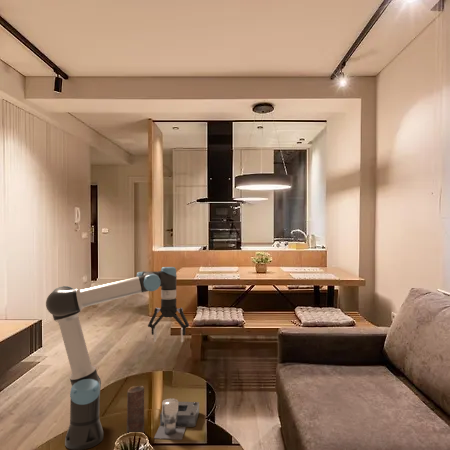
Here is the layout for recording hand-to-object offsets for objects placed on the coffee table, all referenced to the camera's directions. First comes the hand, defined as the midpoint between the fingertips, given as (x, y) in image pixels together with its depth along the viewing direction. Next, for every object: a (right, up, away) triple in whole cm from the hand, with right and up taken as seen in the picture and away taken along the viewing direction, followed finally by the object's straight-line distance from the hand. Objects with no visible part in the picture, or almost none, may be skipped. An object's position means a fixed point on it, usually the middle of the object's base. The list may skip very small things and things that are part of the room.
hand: (168, 341), depth 179 cm
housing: (+7, -34, -7) cm, 36 cm away
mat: (+4, -34, -20) cm, 39 cm away
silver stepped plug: (+4, -33, -20) cm, 39 cm away
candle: (-11, -34, -21) cm, 41 cm away
